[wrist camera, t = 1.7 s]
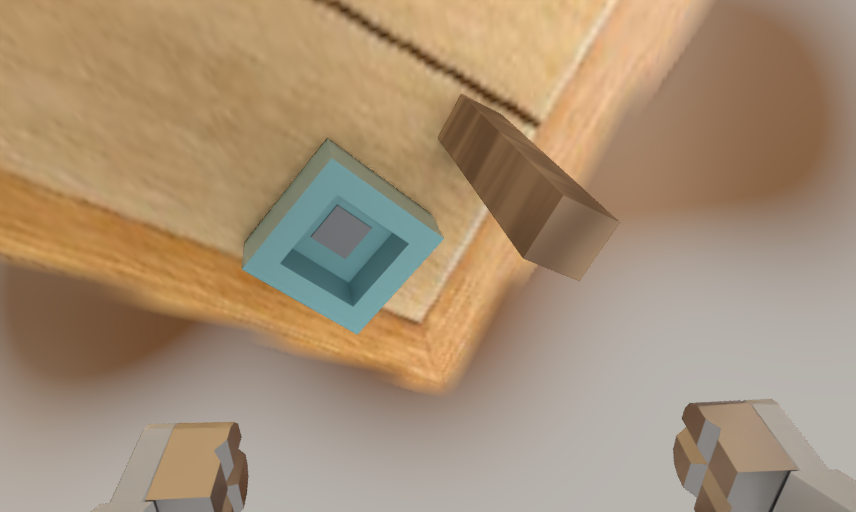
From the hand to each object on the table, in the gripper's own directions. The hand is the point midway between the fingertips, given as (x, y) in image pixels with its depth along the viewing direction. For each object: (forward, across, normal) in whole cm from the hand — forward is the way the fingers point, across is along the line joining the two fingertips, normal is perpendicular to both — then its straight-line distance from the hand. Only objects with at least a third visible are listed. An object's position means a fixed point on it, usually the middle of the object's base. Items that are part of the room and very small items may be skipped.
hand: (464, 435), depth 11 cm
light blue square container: (+33, -5, -13) cm, 36 cm away
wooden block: (+35, +4, -6) cm, 35 cm away
